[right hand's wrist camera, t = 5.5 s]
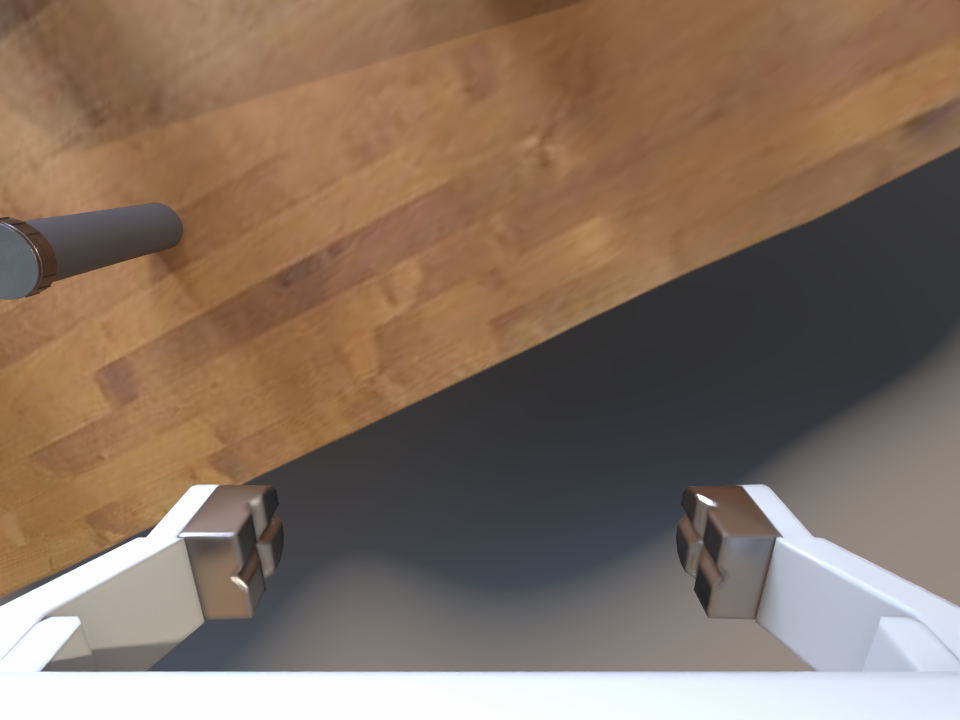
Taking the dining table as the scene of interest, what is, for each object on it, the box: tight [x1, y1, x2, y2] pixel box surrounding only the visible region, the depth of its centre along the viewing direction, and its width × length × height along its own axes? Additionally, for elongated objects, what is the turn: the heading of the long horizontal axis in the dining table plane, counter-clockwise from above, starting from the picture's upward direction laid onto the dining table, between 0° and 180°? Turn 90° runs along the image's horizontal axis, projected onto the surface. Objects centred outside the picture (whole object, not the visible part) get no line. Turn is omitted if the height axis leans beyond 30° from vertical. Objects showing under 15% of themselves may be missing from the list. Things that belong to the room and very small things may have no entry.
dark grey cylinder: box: [25, 203, 182, 282], centre depth 46 cm, size 5×5×20 cm
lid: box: [0, 217, 57, 299], centre depth 38 cm, size 6×6×2 cm
